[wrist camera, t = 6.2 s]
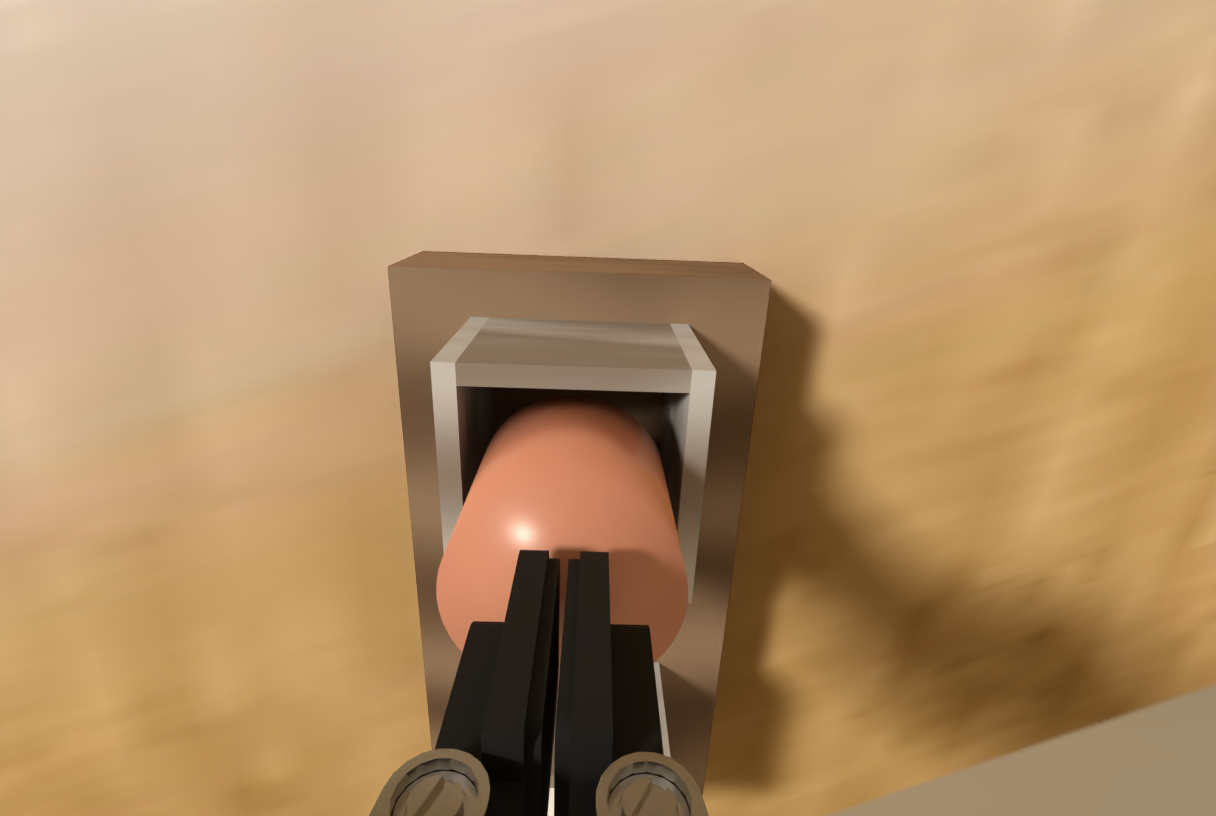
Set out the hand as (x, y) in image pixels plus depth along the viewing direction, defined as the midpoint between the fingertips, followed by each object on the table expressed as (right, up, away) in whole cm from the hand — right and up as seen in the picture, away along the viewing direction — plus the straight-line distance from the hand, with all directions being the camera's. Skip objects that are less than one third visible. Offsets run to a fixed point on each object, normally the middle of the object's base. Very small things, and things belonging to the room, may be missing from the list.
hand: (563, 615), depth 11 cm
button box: (-1, -2, +15) cm, 16 cm away
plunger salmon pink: (0, +2, +5) cm, 6 cm away
